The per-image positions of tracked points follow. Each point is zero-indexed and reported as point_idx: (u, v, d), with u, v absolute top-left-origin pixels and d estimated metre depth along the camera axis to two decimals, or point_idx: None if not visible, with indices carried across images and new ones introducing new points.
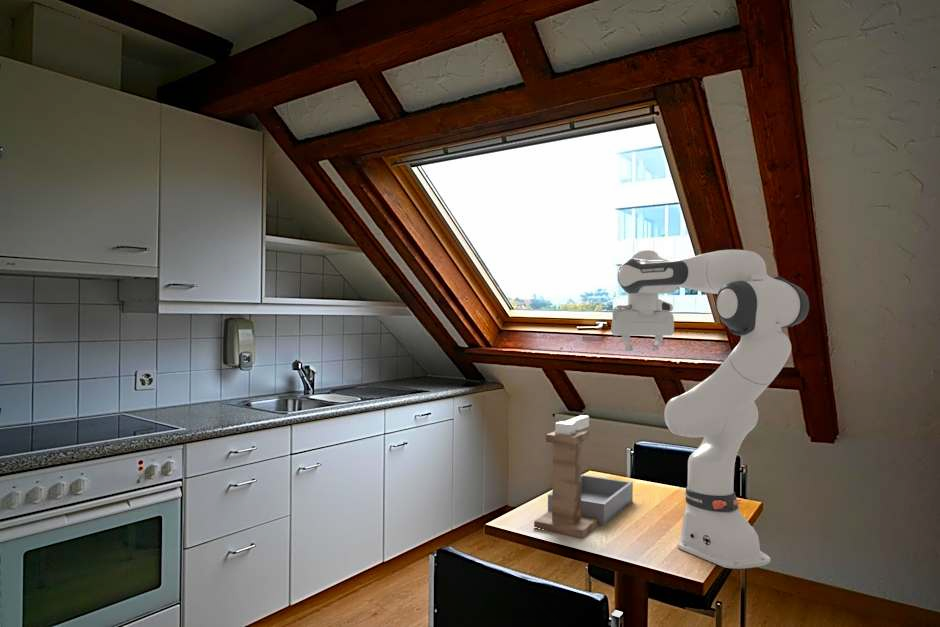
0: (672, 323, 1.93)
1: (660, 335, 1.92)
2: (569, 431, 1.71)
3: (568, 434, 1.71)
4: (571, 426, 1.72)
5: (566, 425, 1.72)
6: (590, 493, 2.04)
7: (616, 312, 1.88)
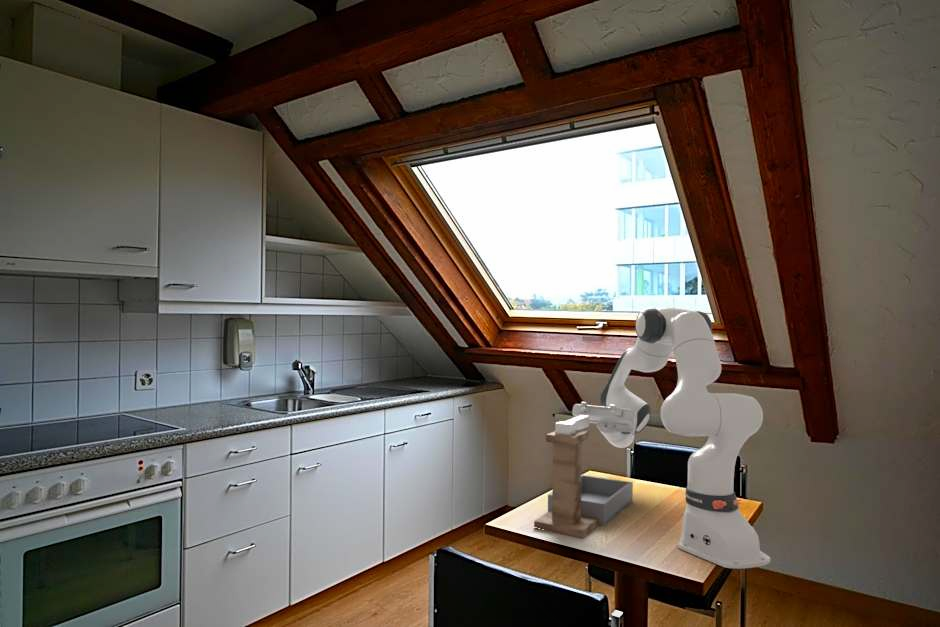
0: None
1: None
2: (569, 431, 1.71)
3: (568, 434, 1.71)
4: (571, 426, 1.72)
5: (566, 425, 1.72)
6: (590, 493, 2.04)
7: None
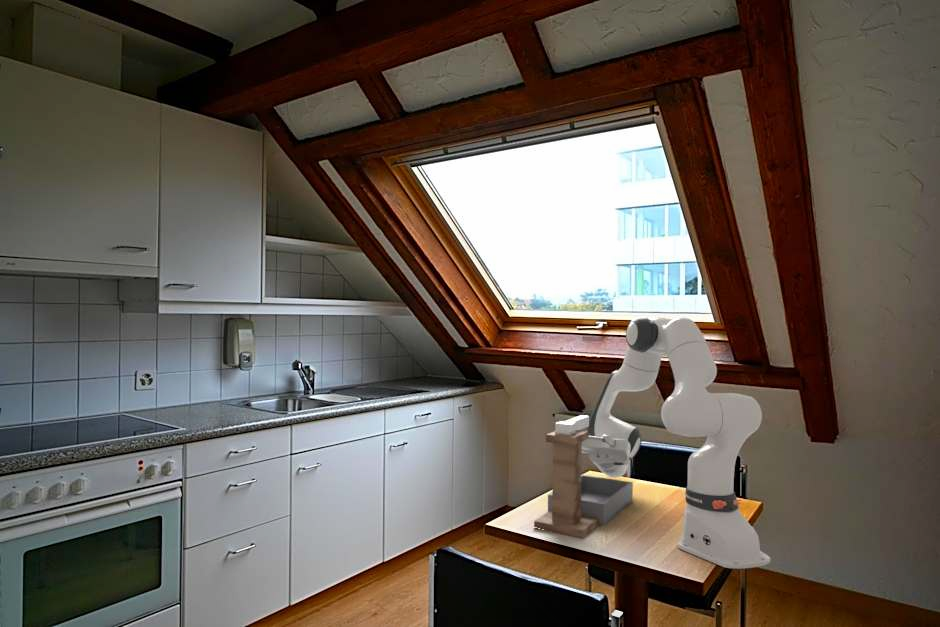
0: None
1: None
2: (569, 431, 1.71)
3: (568, 434, 1.71)
4: (571, 426, 1.72)
5: (566, 425, 1.72)
6: (590, 493, 2.04)
7: None
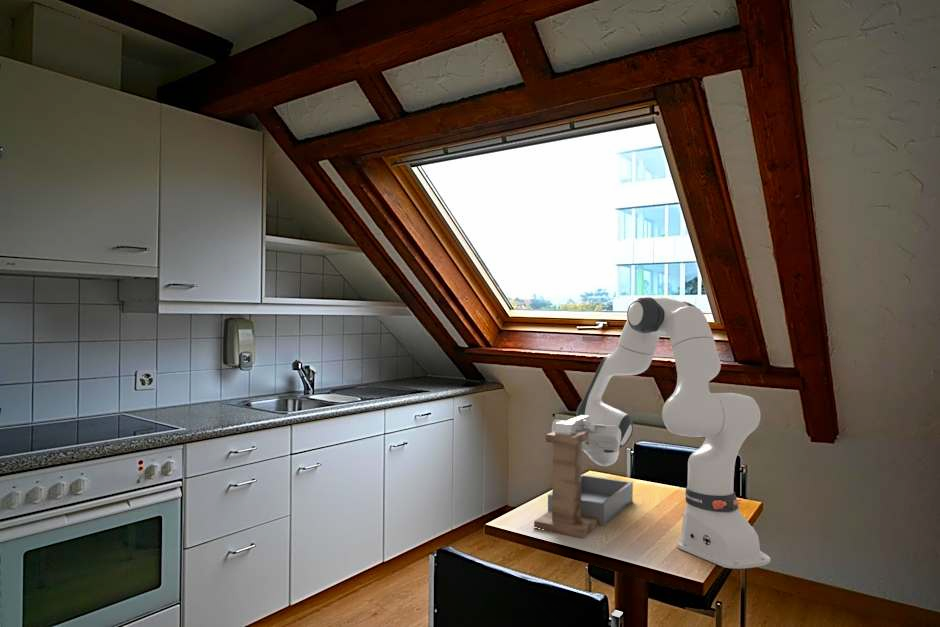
0: None
1: (601, 425, 1.83)
2: (569, 431, 1.71)
3: (568, 434, 1.71)
4: (571, 426, 1.72)
5: (566, 425, 1.72)
6: (590, 493, 2.04)
7: None
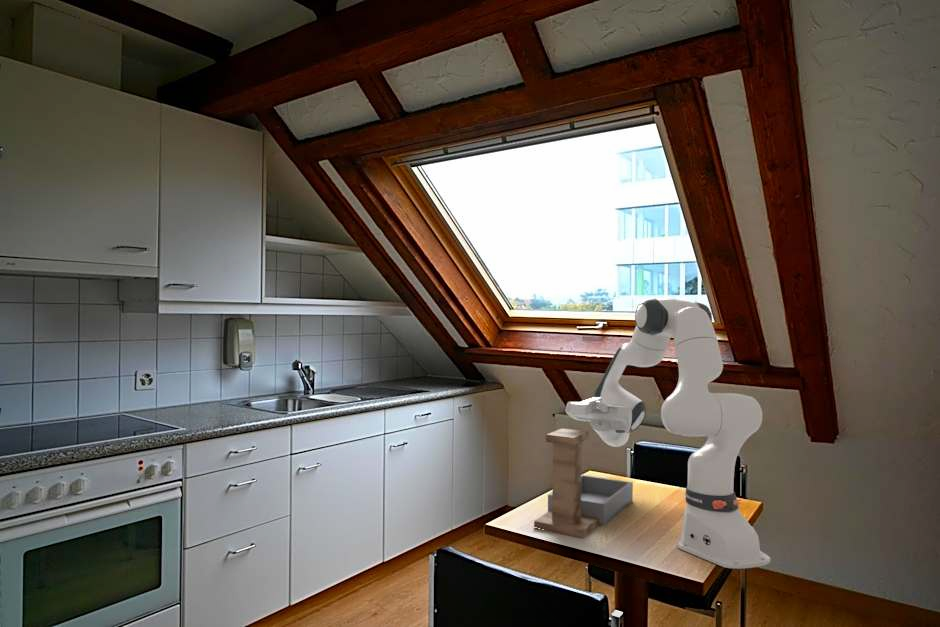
0: None
1: (613, 406, 1.93)
2: (584, 411, 1.81)
3: (583, 414, 1.81)
4: (586, 406, 1.81)
5: (581, 405, 1.81)
6: (590, 493, 2.04)
7: None
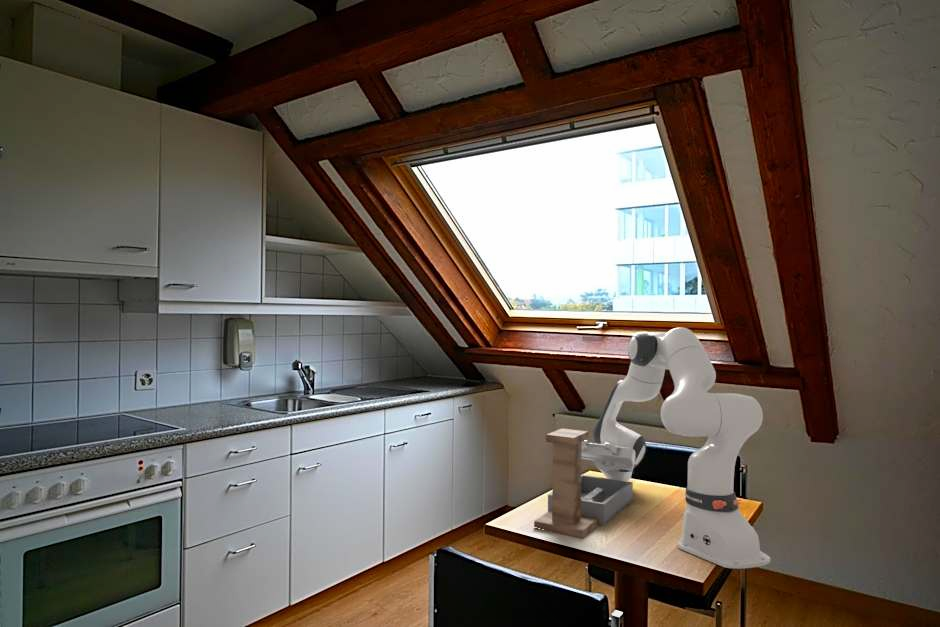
0: None
1: (617, 447, 1.96)
2: None
3: None
4: None
5: None
6: None
7: None
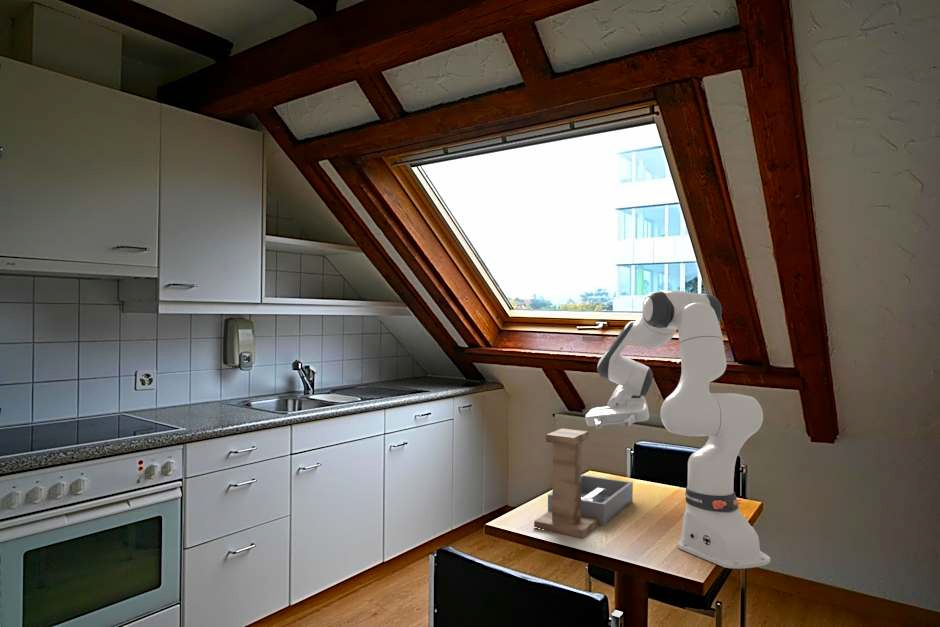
0: (644, 405, 2.01)
1: (631, 413, 2.00)
2: None
3: None
4: None
5: None
6: None
7: None
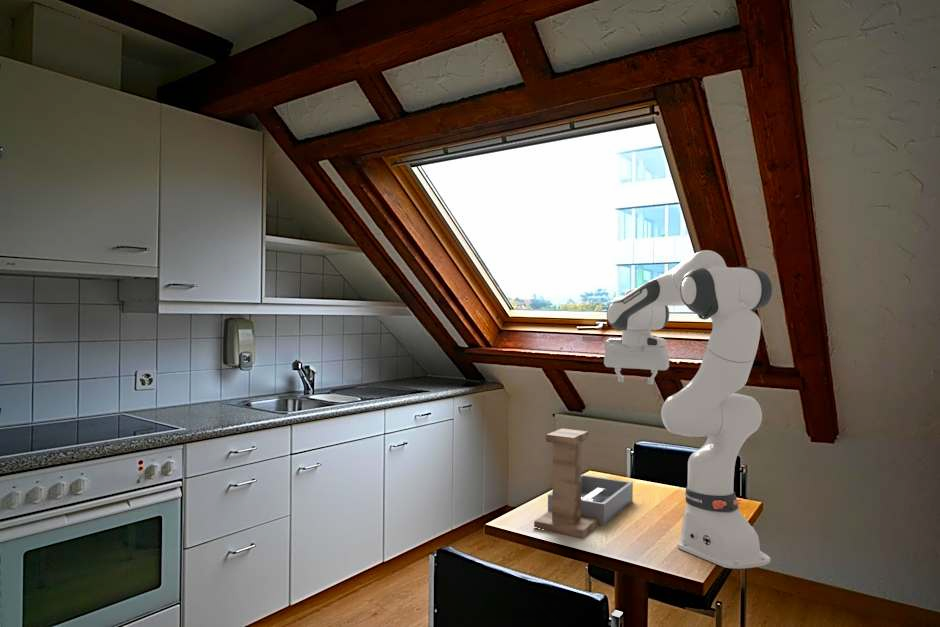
0: (663, 358, 1.95)
1: (651, 369, 1.98)
2: None
3: None
4: None
5: None
6: None
7: (607, 345, 2.06)
